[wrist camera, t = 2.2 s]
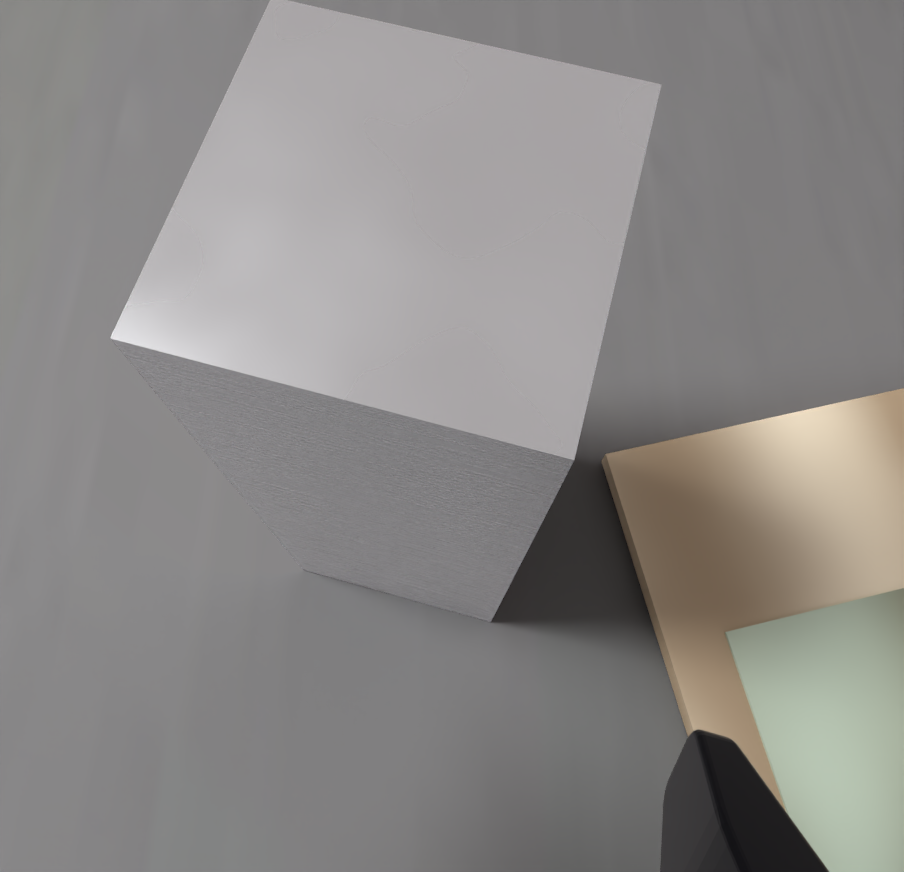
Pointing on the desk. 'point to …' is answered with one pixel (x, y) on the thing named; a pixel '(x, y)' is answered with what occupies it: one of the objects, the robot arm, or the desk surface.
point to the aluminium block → (394, 293)
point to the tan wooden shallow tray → (786, 606)
